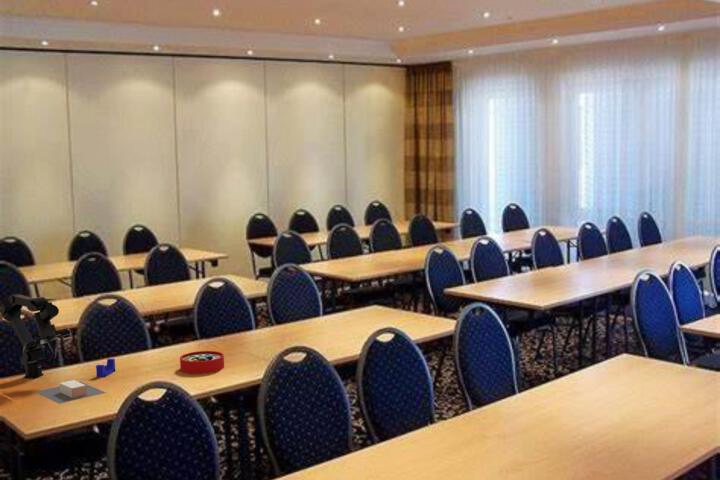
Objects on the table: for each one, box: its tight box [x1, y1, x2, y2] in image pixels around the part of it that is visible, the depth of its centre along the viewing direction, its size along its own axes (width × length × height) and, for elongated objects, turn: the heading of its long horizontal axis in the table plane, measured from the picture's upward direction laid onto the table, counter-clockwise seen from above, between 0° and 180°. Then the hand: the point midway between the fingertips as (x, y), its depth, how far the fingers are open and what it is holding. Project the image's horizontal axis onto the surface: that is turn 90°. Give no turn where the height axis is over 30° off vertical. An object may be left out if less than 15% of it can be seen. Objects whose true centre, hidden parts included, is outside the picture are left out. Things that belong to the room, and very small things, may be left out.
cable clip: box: [95, 358, 116, 379], centre depth 369 cm, size 12×4×6 cm, turn 171°
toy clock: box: [179, 350, 225, 375], centre depth 377 cm, size 20×6×20 cm
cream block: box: [59, 379, 88, 398], centre depth 339 cm, size 4×6×12 cm
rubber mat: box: [35, 381, 107, 405], centre depth 341 cm, size 24×20×1 cm
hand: (54, 357), depth 356 cm, fingers closed
